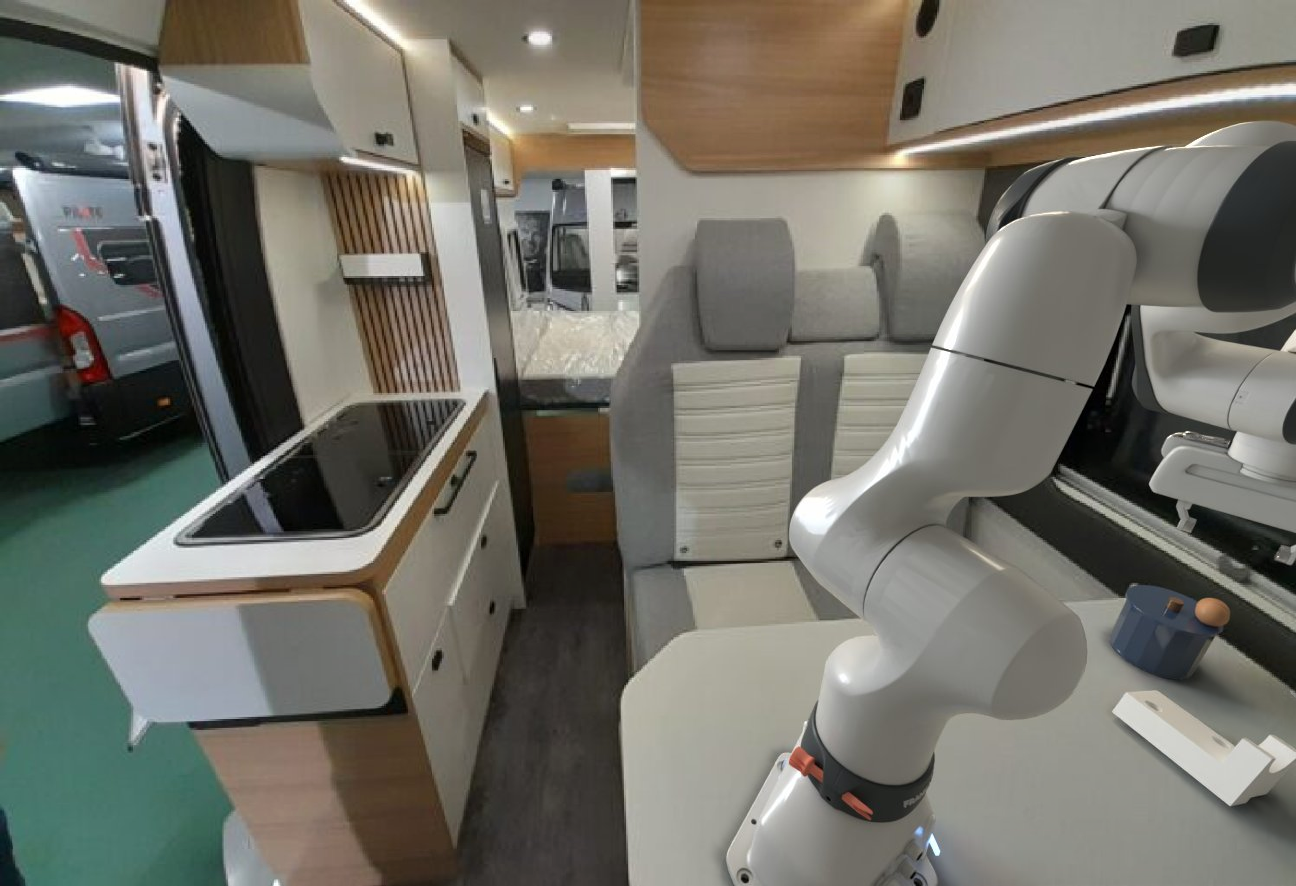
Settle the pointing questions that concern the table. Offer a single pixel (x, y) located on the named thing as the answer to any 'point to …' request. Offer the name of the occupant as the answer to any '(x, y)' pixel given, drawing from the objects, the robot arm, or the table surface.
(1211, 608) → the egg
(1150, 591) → the pot lid
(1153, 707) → the bracket
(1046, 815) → the table surface
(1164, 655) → the pot
